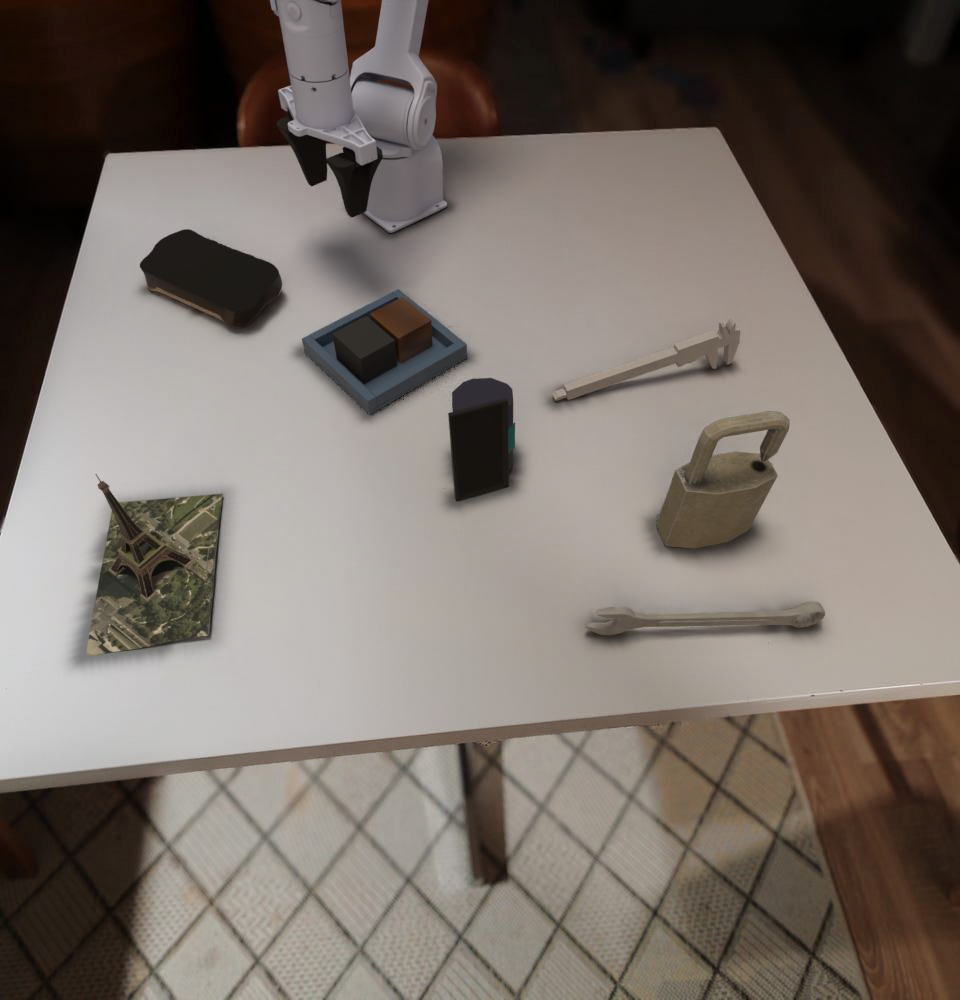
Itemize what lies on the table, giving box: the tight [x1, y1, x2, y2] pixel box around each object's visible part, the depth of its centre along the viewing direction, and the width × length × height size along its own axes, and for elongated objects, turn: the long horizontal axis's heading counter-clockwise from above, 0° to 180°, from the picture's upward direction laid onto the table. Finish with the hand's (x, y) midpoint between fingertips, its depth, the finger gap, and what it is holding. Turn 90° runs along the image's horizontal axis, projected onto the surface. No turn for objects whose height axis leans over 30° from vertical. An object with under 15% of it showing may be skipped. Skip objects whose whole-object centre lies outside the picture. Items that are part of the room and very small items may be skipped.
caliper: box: [551, 317, 741, 402], centre depth 79 cm, size 20×1×6 cm, turn 107°
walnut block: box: [370, 297, 433, 364], centre depth 83 cm, size 4×5×4 cm
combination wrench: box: [585, 601, 826, 636], centre depth 63 cm, size 4×1×20 cm
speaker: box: [447, 377, 516, 502], centre depth 71 cm, size 8×6×10 cm
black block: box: [332, 316, 397, 384], centre depth 81 cm, size 4×5×4 cm
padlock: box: [655, 410, 791, 549], centre depth 65 cm, size 4×8×15 cm, turn 103°
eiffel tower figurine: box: [85, 473, 223, 656], centre depth 62 cm, size 15×10×13 cm
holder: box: [301, 288, 468, 415], centre depth 83 cm, size 13×12×2 cm
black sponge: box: [139, 228, 283, 329], centre depth 88 cm, size 16×8×4 cm, turn 59°
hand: (337, 197), depth 85 cm, fingers open, 7 cm apart
